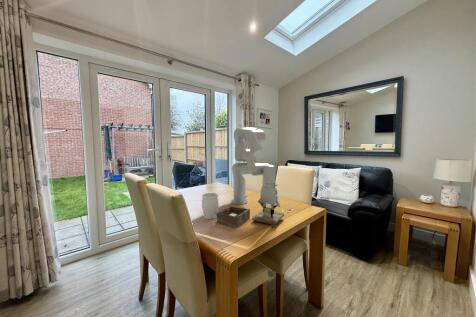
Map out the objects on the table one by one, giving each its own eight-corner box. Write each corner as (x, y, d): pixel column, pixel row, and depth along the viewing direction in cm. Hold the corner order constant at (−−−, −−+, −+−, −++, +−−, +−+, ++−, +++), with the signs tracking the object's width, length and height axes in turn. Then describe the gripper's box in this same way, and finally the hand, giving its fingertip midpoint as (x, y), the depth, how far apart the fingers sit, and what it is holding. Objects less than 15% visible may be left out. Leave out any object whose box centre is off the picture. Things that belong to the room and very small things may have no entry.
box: (230, 215, 140) (230, 205, 140) (249, 220, 133) (249, 209, 133) (216, 224, 127) (216, 213, 126) (236, 229, 120) (236, 217, 119)
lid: (263, 212, 142) (263, 202, 141) (284, 216, 135) (284, 205, 134) (251, 221, 128) (251, 209, 127) (275, 226, 120) (275, 214, 120)
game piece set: (271, 204, 166) (271, 199, 166) (295, 209, 154) (295, 204, 153) (257, 210, 152) (257, 205, 151) (282, 217, 139) (283, 211, 138)
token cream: (232, 216, 136) (232, 213, 136) (237, 217, 134) (237, 214, 134) (228, 218, 133) (228, 215, 132) (234, 220, 131) (234, 216, 130)
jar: (202, 221, 132) (201, 197, 130) (201, 215, 142) (201, 193, 140) (219, 220, 134) (219, 196, 132) (217, 214, 144) (217, 192, 142)
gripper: (284, 185, 128) (283, 215, 130) (258, 182, 136) (258, 210, 138) (280, 188, 122) (279, 219, 123) (253, 184, 130) (253, 213, 132)
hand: (268, 214), depth 131 cm, fingers closed on lid, 4 cm apart
